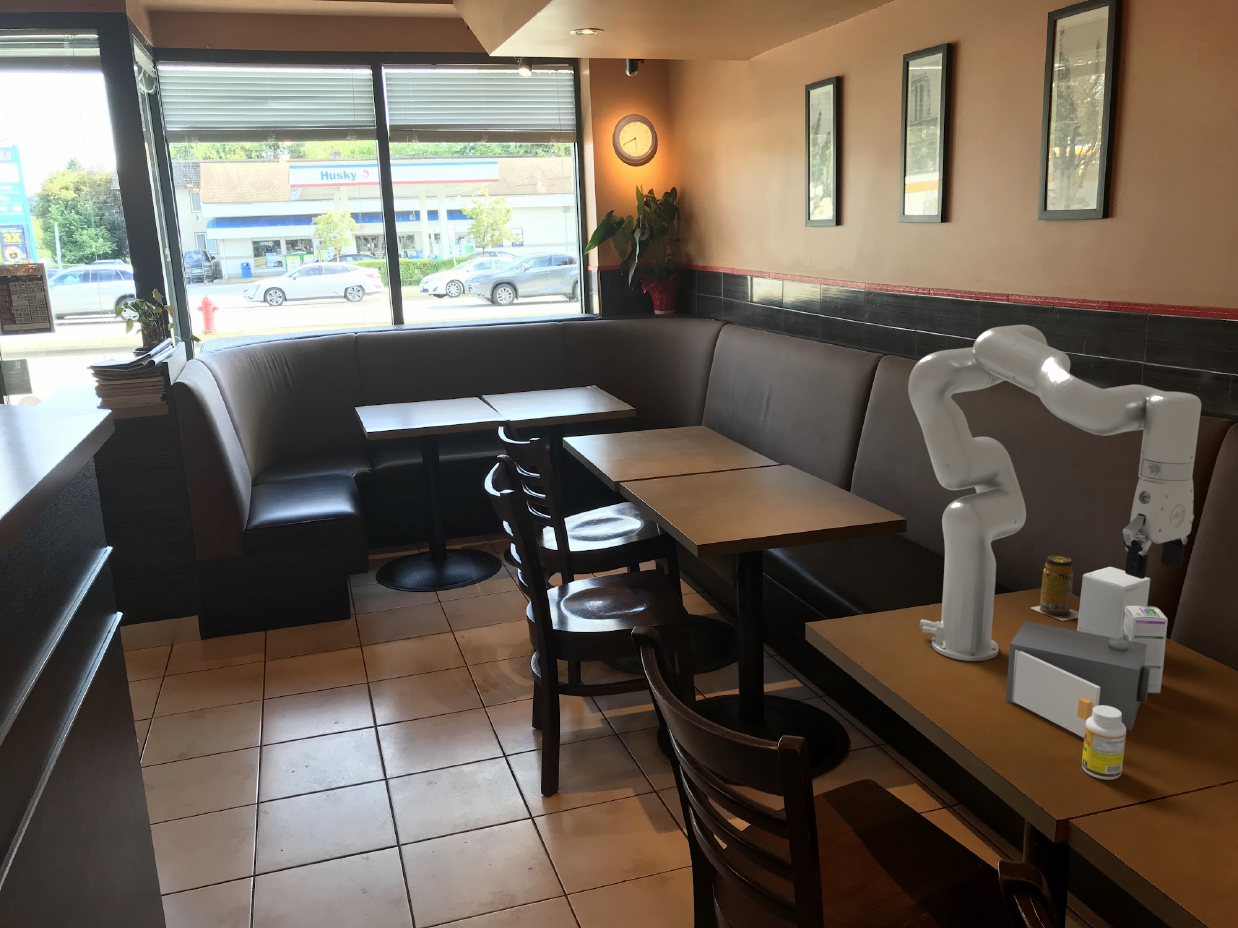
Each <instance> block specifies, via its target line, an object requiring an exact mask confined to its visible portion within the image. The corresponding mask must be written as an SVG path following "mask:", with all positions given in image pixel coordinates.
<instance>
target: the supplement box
mask: <svg viewBox="0 0 1238 928" xmlns="http://www.w3.org/2000/svg"><path fill="white" fill-rule="evenodd" d="M1150 585H1151V577H1147V576H1146V577H1145V578H1144V579H1140V578H1137V577H1134V576H1131V575H1127V574H1126V573H1125V570H1122V569H1120V568H1116V567H1113V566H1108V567H1104V568H1101V569H1097V570H1094V571H1091V572H1087V573H1083V575H1082V585H1081V592H1080V600H1079V610H1078V612H1079V617H1077V629H1076V631H1080V632H1086V633H1091V634H1096V635H1101V636H1107V637H1112V638H1117V639H1122V638H1123V627H1124V617H1125V607H1126V606H1148V602H1149V601H1148V600H1149V593H1150Z"/></svg>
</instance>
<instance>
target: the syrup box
mask: <svg viewBox="0 0 1238 928" xmlns="http://www.w3.org/2000/svg"><path fill="white" fill-rule="evenodd" d="M1167 627H1168V618H1167V617H1166V615H1164V613H1163V611H1161V609H1159V608H1158V607H1157V606H1151V605H1149V606H1148V605H1147V606H1126V607H1125V617H1124V627H1123V638H1122V639H1123V640H1128V641H1133V642H1138V643H1144V644H1147V648H1146V657H1145V665H1144V667H1148V668H1150V680H1149V688H1148V694H1151V693H1152V694H1160V693H1161V691H1162V688H1161V687H1162V679H1163V670H1164V664H1165V663H1164V661H1165V651H1166V640H1167V631H1168V629H1167Z"/></svg>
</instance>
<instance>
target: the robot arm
mask: <svg viewBox="0 0 1238 928" xmlns="http://www.w3.org/2000/svg"><path fill="white" fill-rule="evenodd" d="M1070 369H1071V360H1070V358H1069V356H1068V355H1067V353H1065V352H1063V351H1061V350H1058V349H1056V348H1054V347H1052V346H1050V345H1048V342H1047V338H1046V337H1045V335H1044V334H1043V332H1042V331H1041V330H1039V329H1038V328H1036V327H1034V326H1031V325H1028V324H1016V325H1015V324H1014V325H1006V326H996V327H992V328H989V329H987V330H985V331H983V332H982V333H981V334H980V335H979V336H978V337H977V338H976V339H975V341H974V343H973V346H972V347H964V348H956V349H955V348H954V349H953V348H952V349H945V350H939V351H935V352H933V353H929V354H927V355H925V356H924V357H922V358H921V359H920V360H918V362H916V364H915V365H914V367H913V368H912V370H911V372H910V375H909V379H908V383H907V384H908V385H907V386H908V388H907V390H908V397H909V400H910V404H911V406H912V409H913V411H914V413H915V415H916V418H917V420H918V423H919V425H920V427H921V431H922V435H923V437H924V442H925V445H926V448H927V452H928V454H929V457H930V461H931V465H932V468H933V471H934V474H935V477H936V479H937V481H938V482H939V484H940V485H941V486H942V488H945V489H946V490H950V491H959V490H965V489H971V488H974V489H975V492H976V493H972V494H968V495H965V496H961V497H959V498H957V499H954V500H953V501H952V502H950V503H949V504H948V505H947V506H946V508H945V509H944V511H943V514H942V519H941V522H942V523H941V525H942V532H943V540H944V567H943V569H944V571H943V572H944V573H943V585H942V587H943V589H942V602H941V603H942V604H941V617H940V618H941V619H940V620H941V621H939V620H936V621H931V620H928V619H923V618H922V619H920V622H919V628H920V629H922V633H924V634H930V635H933V636H932V638H931V646H932V649H934V651H936V652H937V653H939V654H941V655H943V656H945V657H947V658H951V659H954V660H959V661H967V662H982V661H983V662H984V661H988V660H991V659H994V658H995V657H997V655H999V649H1000V648H999V647H1000V646H999V644H998V643H997V642H996V641H995V640H993V639H992V631H993V619H994V618H993V615H994V604H995V603H994V602H995V589H996V576H997V575H996V574H997V562H996V558H995V554H994V552H993V549H992V545H991V544H992V542H993V541H995V540H998V539H1002V538H1005V537H1008V536H1011V535H1014V534H1016V533H1017V532H1018V531H1019V532H1020V530H1021V529H1022V527H1023V526H1025V522H1026V519H1027V510H1026V509H1027V508H1026V503H1025V499H1024V496H1023V493H1022V490H1021V488H1020V484H1019V481H1018V478H1017V474H1016V472H1015V469H1014V467H1015V466H1014V464H1013V462H1012V459H1011V456H1010V455H1009V453H1008V450H1007V449H1006V448H1005V446H1004V445H1003V444H1002V443H1001V442H1000V441H998V440H996V439H995V438H992V437H989V436H977V437H973V435H972V433H971V430H970V428H969V424H968V421H967V418H966V416H965V413H964V412H963V410H962V409H961V408H960V406H959V405H958V404H957V403H956V402H955V400H953V399H952V396H953V394H959V393H965V392H966V393H967V392H972V391H979V390H983V389H987V388H990V387H992V386H994V385H995V386H996V385H998V384H999V383H1002V382H1005V381H1007V382H1009V383H1010V384H1013V385H1015V386H1017V387H1020V388H1021V389H1023V390H1025V391H1027V392H1029V393H1031V394H1034V395H1035V396H1037V397H1039V399H1040V401H1041V403H1042V404H1043V406H1045V407H1046V409H1047V410H1048V411H1050V413H1051V414H1053V415H1054V416H1055V417H1057V418H1059V419H1060V420H1062V421H1064V422H1066V423H1068V424H1070V425H1072V426H1074V427H1076V428H1078V429H1080V430H1083V431H1084V432H1087V433H1090V434H1092V435H1096V436H1097V435H1098V436H1113V435H1118V434H1122V433H1128V432H1134V431H1140V430H1143V432H1142V433H1143V434H1142V441H1141V447H1140V449H1141V450H1140V451H1141V452H1140V460H1139V467H1138V481H1137V485H1136V489H1135V491H1134V498H1133V502H1132V505H1131V506H1132V507H1131V508H1132V509H1131V513H1130V521H1129V523H1128V524H1127V525H1126V526H1125V527H1124V528H1123V529H1122V535H1123V544H1124V546H1125V551H1126V560H1125V561H1126V562H1125V569H1124V571H1125V573H1126V574H1127V575H1131V576H1134V577H1137V578H1140V579H1144V578H1145V577H1147V569H1148V561H1149V560H1148V559H1149V554H1147V552H1148V550H1149V549H1150V547H1151V545H1152V543H1154V544H1158V545H1159V544H1160V545H1161V544H1163V545H1162V552H1161V560H1160V561H1161V564H1163V565H1167V566H1170V567H1173V568H1176V569H1180V568H1182V566H1183V562H1184V561H1183V560H1184V552H1185V545H1186V544H1187V542H1188V537H1187V536H1189V535H1190V534H1191V531H1192V527H1193V526H1192V524H1193V521H1194V518H1195V515H1194V497H1195V495H1194V480H1193V475H1194V474H1193V473H1194V467H1195V459H1196V450H1197V443H1198V435H1199V427H1200V418H1201V411H1202V401H1201V399H1200V398H1199V397H1198V396H1197V395H1195V394H1192V393H1188V392H1181V391H1165V390H1162V389H1161V390H1160V389H1157V388H1153V387H1151V386H1147V385H1143V384H1128V385H1120V386H1114V387H1113V386H1112V387H1108V388H1107V387H1106V388H1101V387H1098V386H1096V385H1094V384H1091V383H1089V382H1086V381H1084V380H1082V379H1080V378H1078V377H1076V376H1075V375H1073V374H1072V373H1071V372H1070ZM1139 541H1140V542H1142V544H1141V543H1139Z"/></svg>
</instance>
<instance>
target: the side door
mask: <svg viewBox="0 0 1238 928" xmlns="http://www.w3.org/2000/svg"><path fill="white" fill-rule="evenodd" d="M1100 688H1101V687H1099V686H1097V685H1095V684H1093V683H1091V682H1088V681H1086V680H1084V679H1082V678H1080V677H1077V676H1075V675H1073V674H1071V673H1069V672H1066V671H1064V670H1062V669H1060V668H1058V667H1055V666H1053V665H1051V664H1049V663H1047V662H1044V661H1042V660H1040V659H1038V658H1036V657H1033V656H1031V655H1029V654H1027V653H1025V652H1022V651H1020V650H1015V662H1014V674H1013V686H1012V698H1011V700H1012V701H1014V702H1016V703H1017V704H1016V705H1020V706H1022V707H1023V708H1025V709H1027V710H1029V711H1031V712H1033V713H1035V714H1037V715H1039V716H1041V717H1043V718H1045V719H1047V720H1049V721H1050V722H1053V723H1055V724H1056V725H1059V726H1061V727H1062V728H1063V729H1066V730H1068V731H1070V732H1072V733H1074V734H1076V735H1078V736H1080V737H1081V738H1083V739H1084V736H1085V725H1086V720H1087V719H1088V718H1089V717H1091V716H1092V713H1093V708H1094V707H1095V706H1099V698H1100Z"/></svg>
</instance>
